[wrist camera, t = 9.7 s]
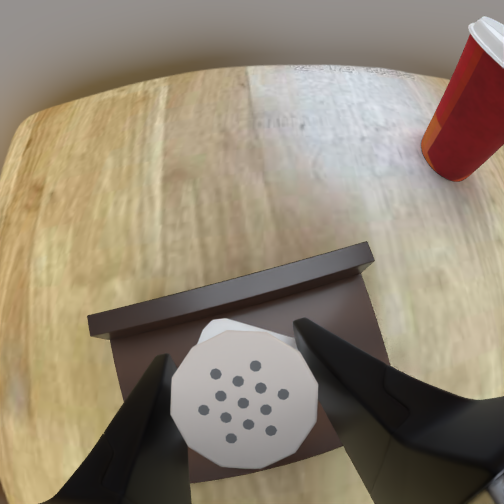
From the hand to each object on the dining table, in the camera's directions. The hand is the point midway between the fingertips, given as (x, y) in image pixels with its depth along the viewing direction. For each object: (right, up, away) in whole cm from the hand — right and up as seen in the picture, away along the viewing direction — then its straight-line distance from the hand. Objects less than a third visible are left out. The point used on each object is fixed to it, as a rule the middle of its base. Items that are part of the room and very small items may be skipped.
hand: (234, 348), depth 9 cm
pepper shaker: (+1, -4, +6) cm, 7 cm away
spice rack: (+1, -5, +10) cm, 11 cm away
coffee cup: (+20, +12, +16) cm, 28 cm away
